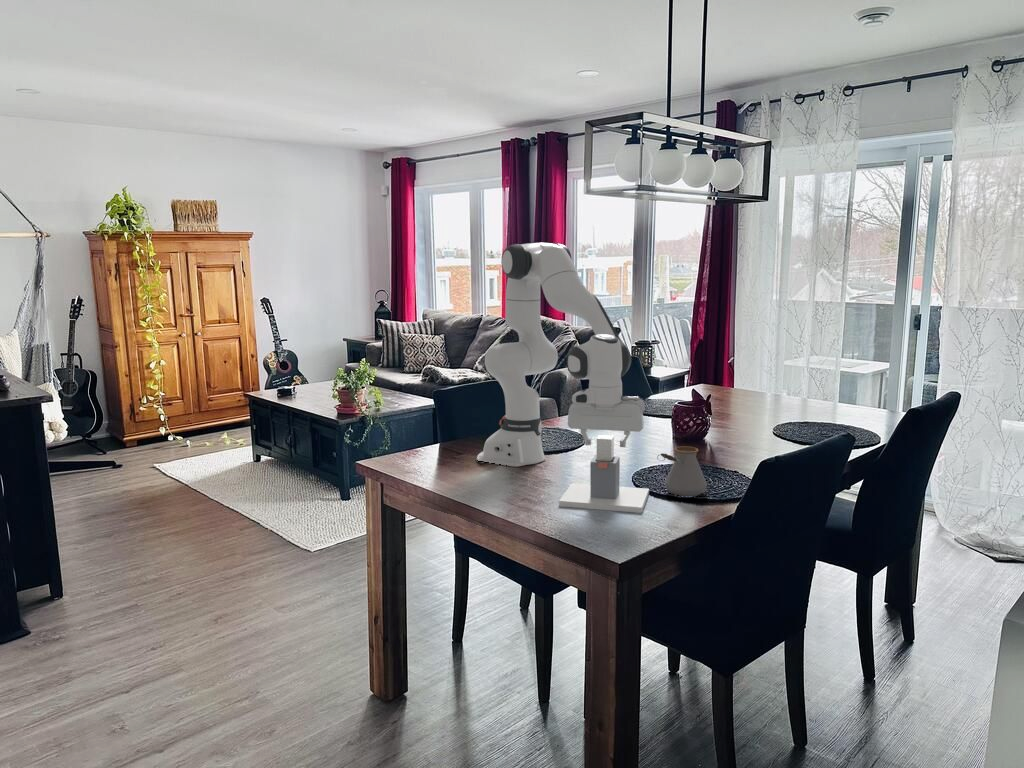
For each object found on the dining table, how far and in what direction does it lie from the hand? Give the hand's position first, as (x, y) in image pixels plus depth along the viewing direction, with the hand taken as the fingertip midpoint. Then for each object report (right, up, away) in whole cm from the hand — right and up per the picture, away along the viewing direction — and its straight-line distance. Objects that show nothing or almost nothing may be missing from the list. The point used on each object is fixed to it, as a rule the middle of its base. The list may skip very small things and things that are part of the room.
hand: (605, 445), depth 198 cm
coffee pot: (+20, -15, +3) cm, 25 cm away
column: (0, -13, +2) cm, 14 cm away
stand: (0, -15, +3) cm, 15 cm away
